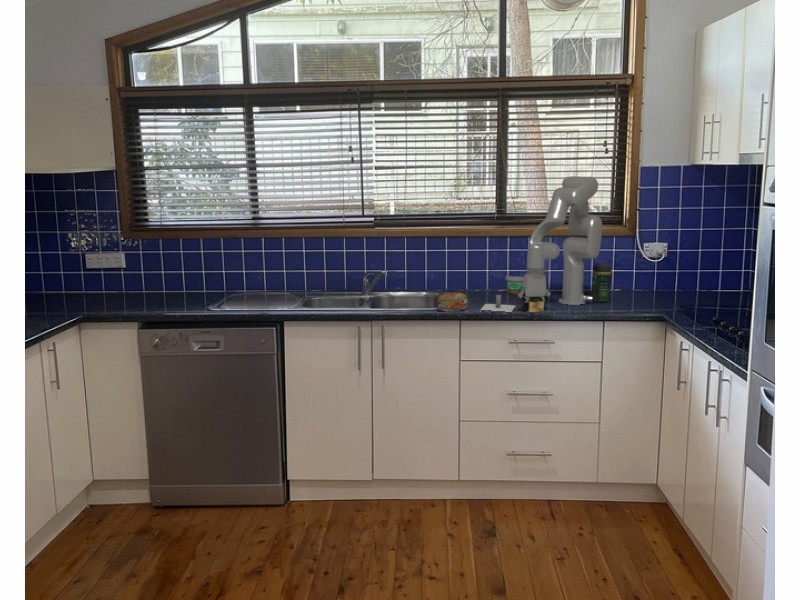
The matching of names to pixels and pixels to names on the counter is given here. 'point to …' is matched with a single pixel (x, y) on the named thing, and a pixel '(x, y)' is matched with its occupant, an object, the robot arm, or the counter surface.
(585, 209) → the robot arm
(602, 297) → the coffee jar
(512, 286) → the food container
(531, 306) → the tan wooden block
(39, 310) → the counter surface
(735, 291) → the counter surface
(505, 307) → the post base
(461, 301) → the tin
